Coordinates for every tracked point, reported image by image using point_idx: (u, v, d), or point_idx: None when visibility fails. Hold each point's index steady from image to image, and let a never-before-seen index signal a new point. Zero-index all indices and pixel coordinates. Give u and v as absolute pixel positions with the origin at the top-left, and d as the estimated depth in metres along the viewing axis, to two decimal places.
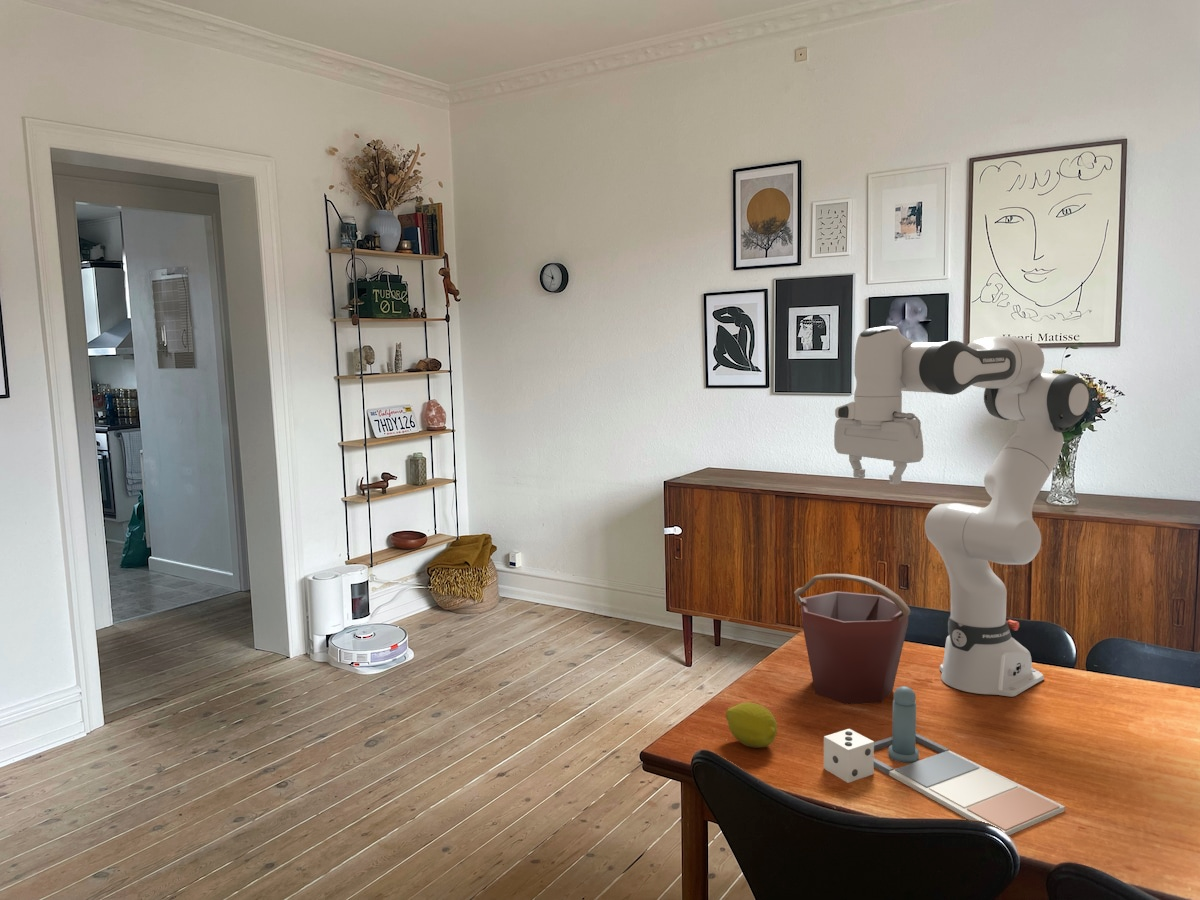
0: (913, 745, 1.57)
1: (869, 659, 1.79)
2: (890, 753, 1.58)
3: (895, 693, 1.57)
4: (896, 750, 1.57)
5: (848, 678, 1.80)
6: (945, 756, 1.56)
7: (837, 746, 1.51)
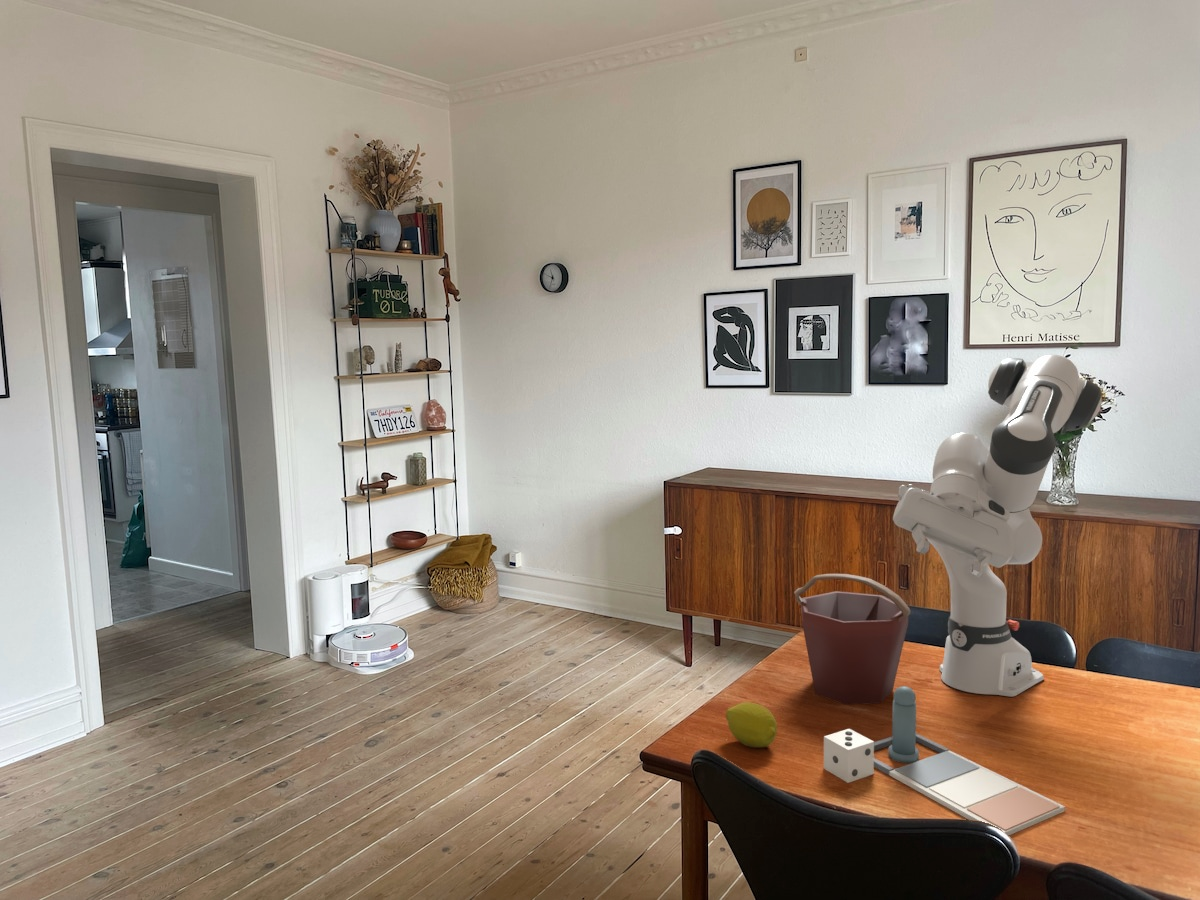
0: (913, 745, 1.57)
1: (869, 659, 1.79)
2: (890, 753, 1.58)
3: (895, 693, 1.57)
4: (896, 750, 1.57)
5: (848, 678, 1.80)
6: (945, 756, 1.56)
7: (837, 746, 1.51)
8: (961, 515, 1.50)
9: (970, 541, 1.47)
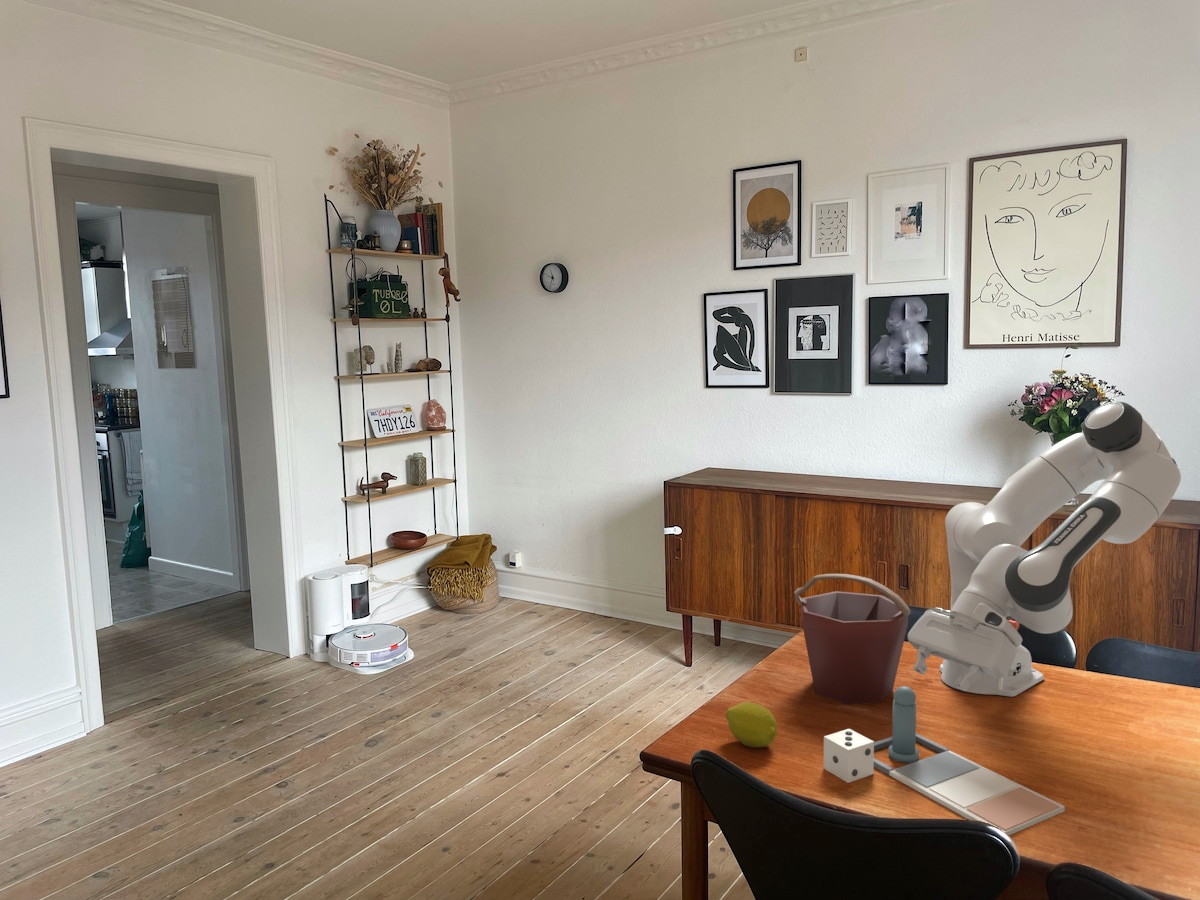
0: (913, 745, 1.57)
1: (869, 659, 1.79)
2: (890, 753, 1.58)
3: (895, 693, 1.57)
4: (896, 750, 1.57)
5: (848, 678, 1.80)
6: (945, 756, 1.56)
7: (837, 746, 1.51)
8: (964, 632, 1.62)
9: (958, 657, 1.59)
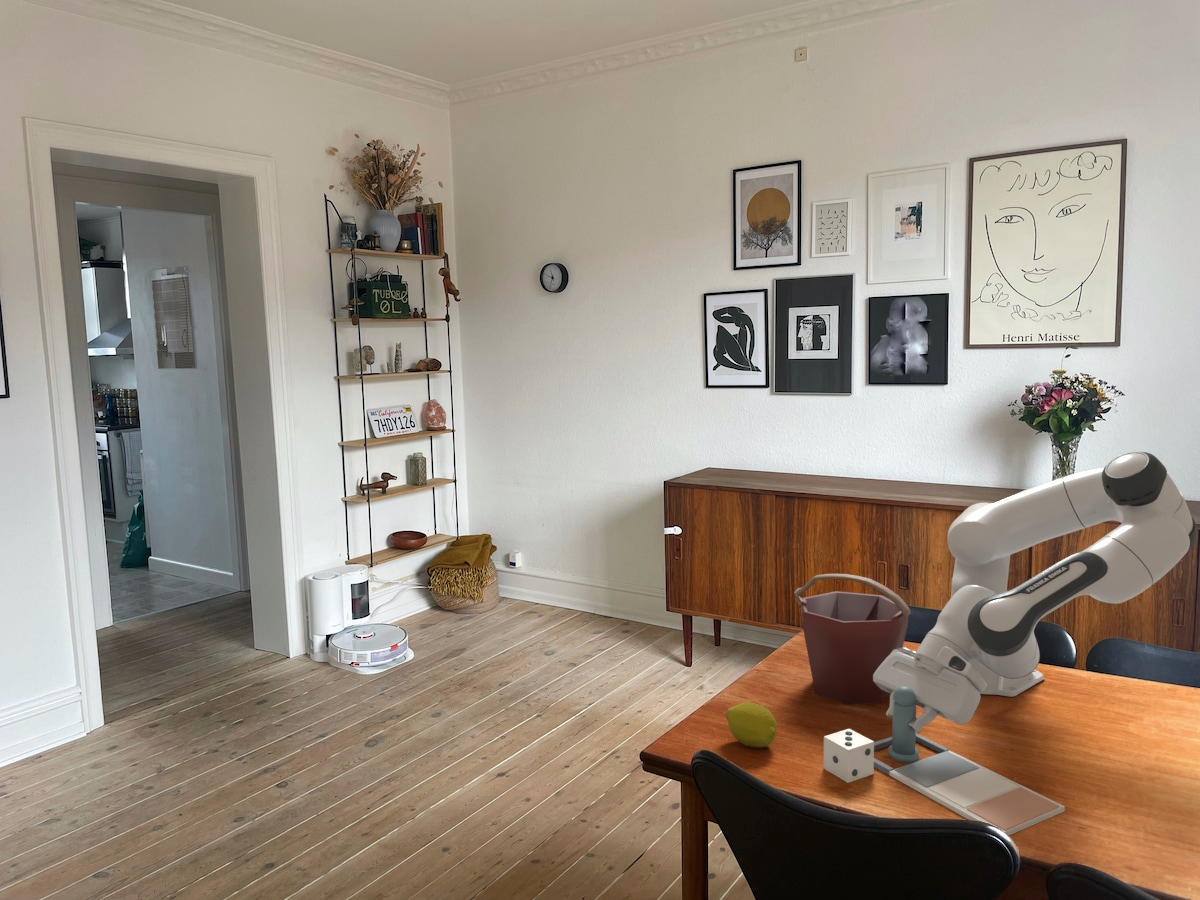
0: (913, 745, 1.57)
1: (869, 659, 1.79)
2: (890, 753, 1.58)
3: (895, 693, 1.57)
4: (896, 750, 1.57)
5: (848, 678, 1.80)
6: (945, 756, 1.56)
7: (837, 746, 1.51)
8: (928, 675, 1.59)
9: (921, 701, 1.56)
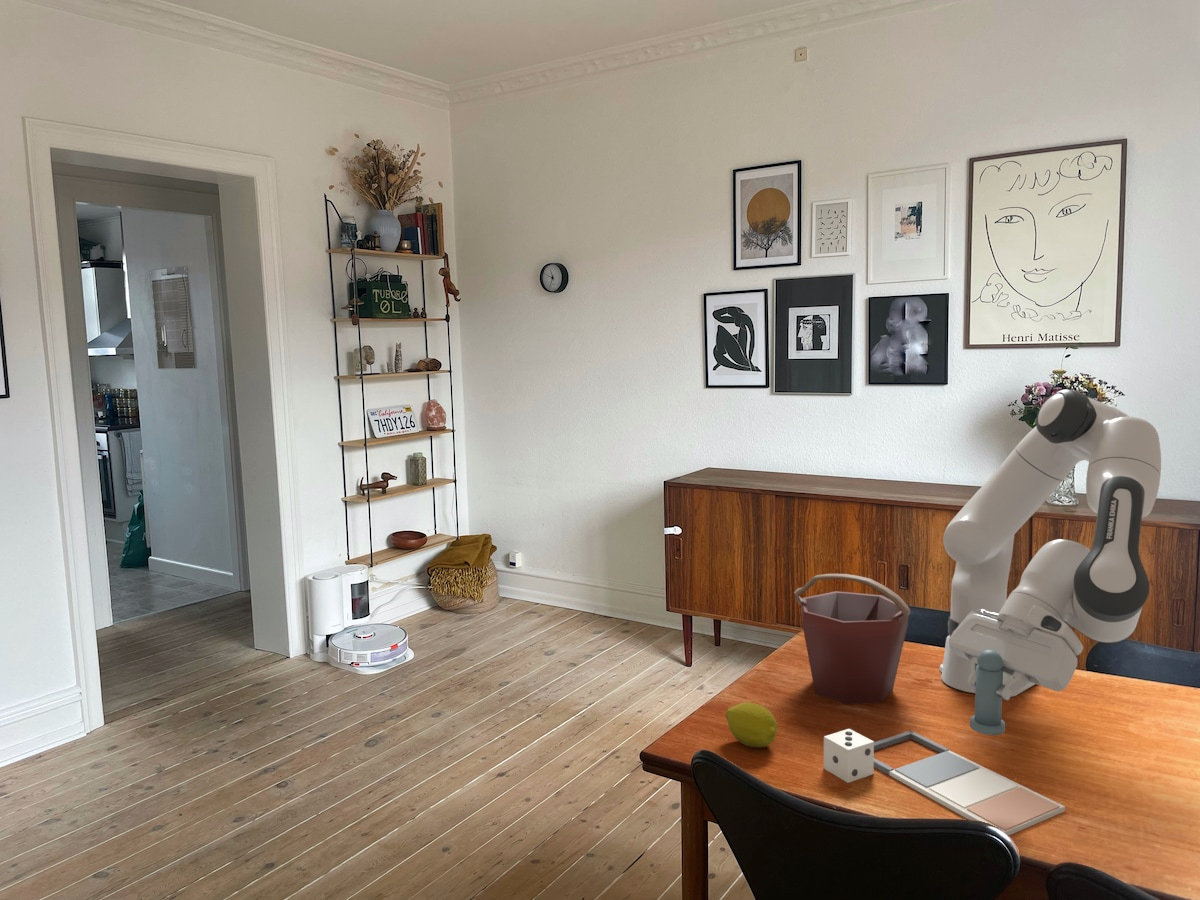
0: (999, 715, 1.41)
1: (869, 659, 1.79)
2: (973, 724, 1.42)
3: (980, 657, 1.41)
4: (980, 721, 1.41)
5: (848, 678, 1.80)
6: (945, 756, 1.56)
7: (837, 746, 1.51)
8: (1015, 637, 1.43)
9: (1010, 666, 1.40)
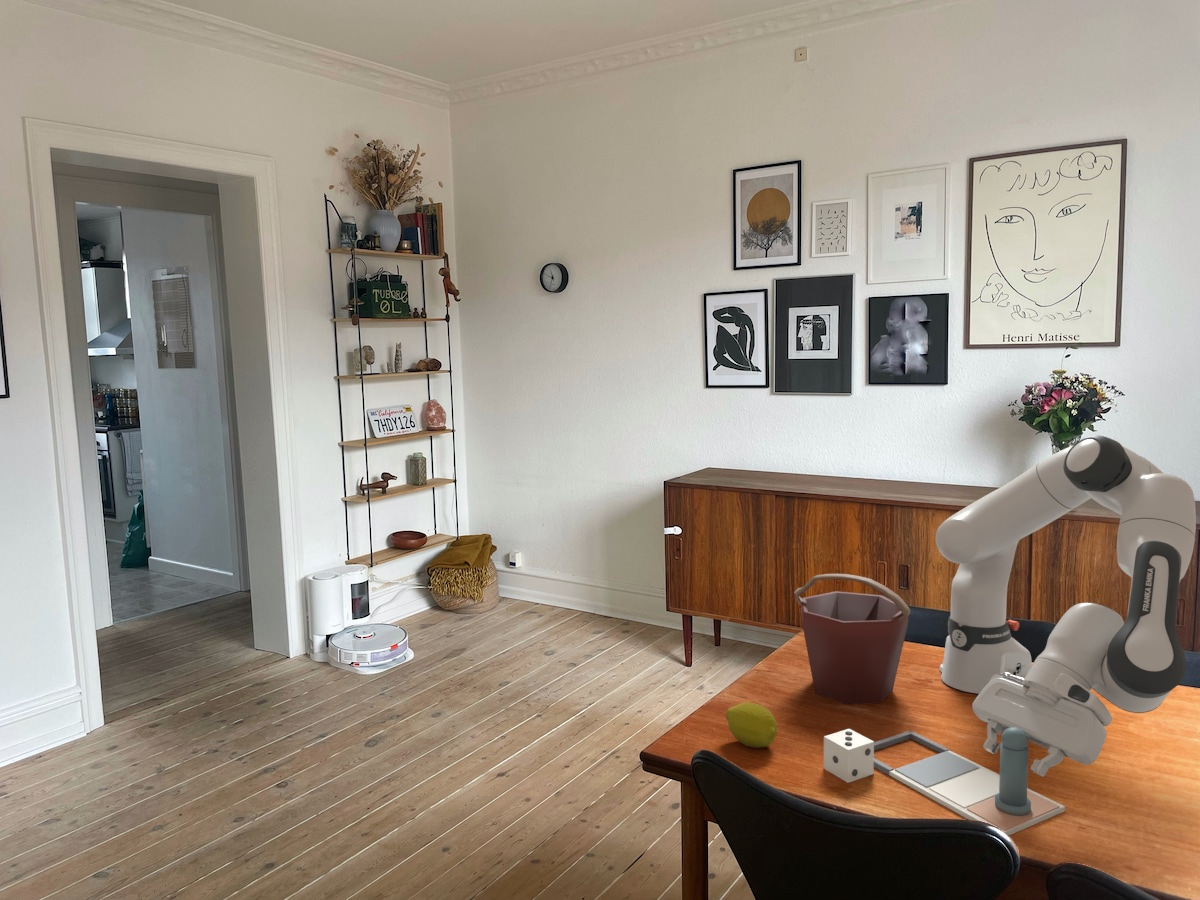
0: (1025, 795, 1.37)
1: (869, 659, 1.79)
2: (998, 804, 1.38)
3: (1004, 735, 1.37)
4: (1005, 801, 1.38)
5: (848, 678, 1.80)
6: (945, 756, 1.56)
7: (837, 746, 1.51)
8: (1041, 706, 1.39)
9: (1036, 736, 1.36)
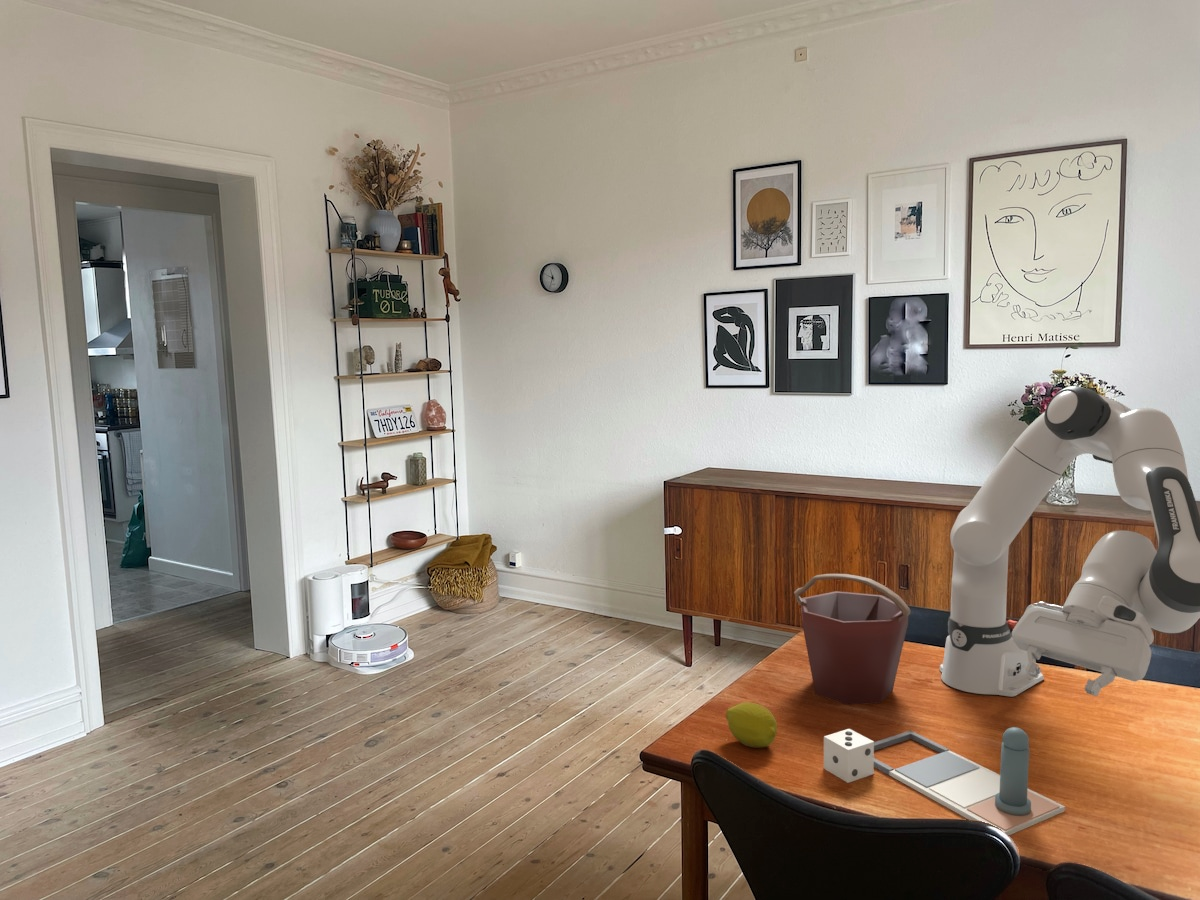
0: (1025, 795, 1.37)
1: (869, 659, 1.79)
2: (998, 804, 1.38)
3: (1005, 735, 1.37)
4: (1005, 800, 1.38)
5: (848, 678, 1.80)
6: (945, 756, 1.56)
7: (837, 746, 1.51)
8: (1085, 628, 1.41)
9: (1084, 657, 1.38)
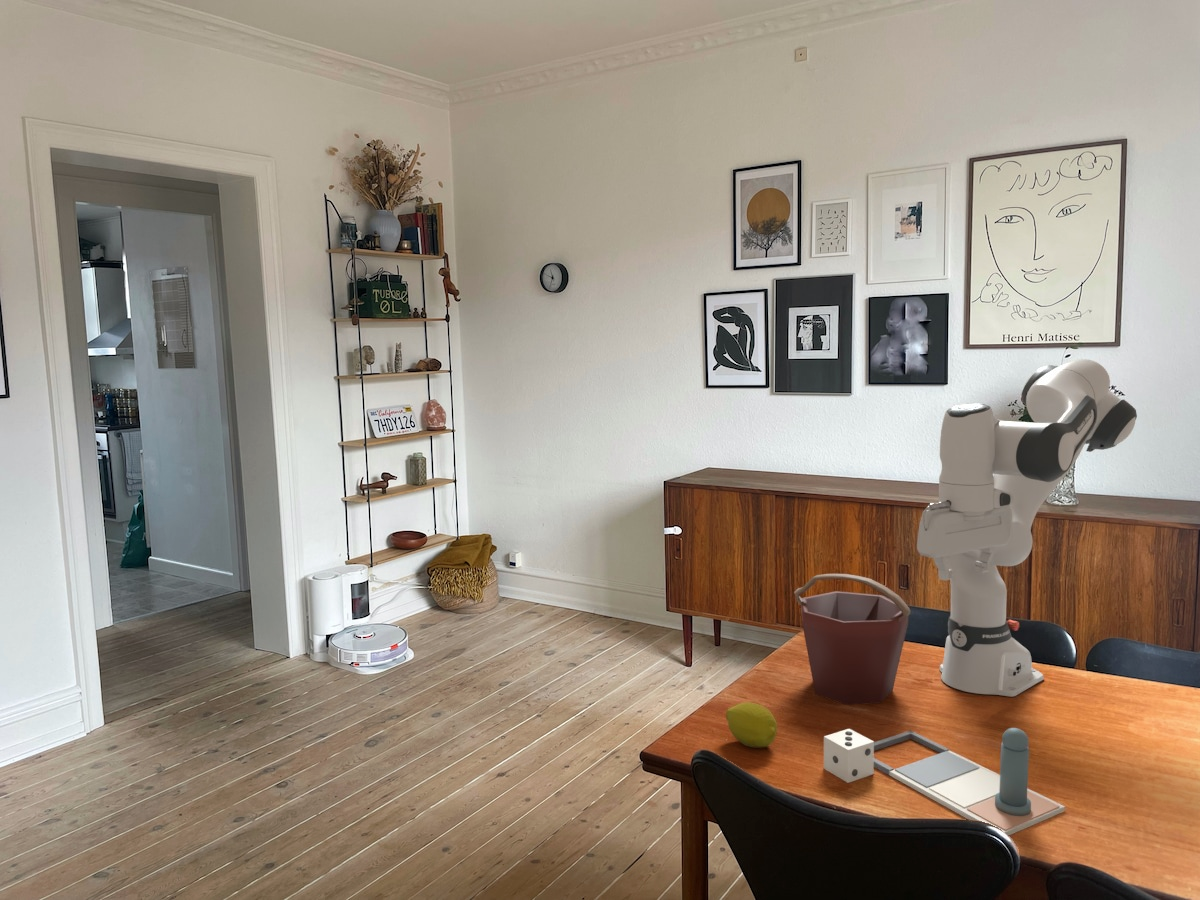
0: (1025, 795, 1.37)
1: (869, 659, 1.79)
2: (998, 804, 1.38)
3: (1004, 736, 1.37)
4: (1005, 801, 1.38)
5: (848, 678, 1.80)
6: (945, 756, 1.56)
7: (837, 746, 1.51)
8: (975, 521, 1.50)
9: (982, 548, 1.52)
